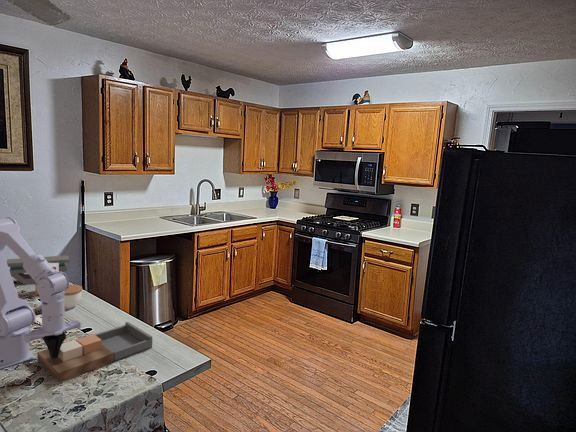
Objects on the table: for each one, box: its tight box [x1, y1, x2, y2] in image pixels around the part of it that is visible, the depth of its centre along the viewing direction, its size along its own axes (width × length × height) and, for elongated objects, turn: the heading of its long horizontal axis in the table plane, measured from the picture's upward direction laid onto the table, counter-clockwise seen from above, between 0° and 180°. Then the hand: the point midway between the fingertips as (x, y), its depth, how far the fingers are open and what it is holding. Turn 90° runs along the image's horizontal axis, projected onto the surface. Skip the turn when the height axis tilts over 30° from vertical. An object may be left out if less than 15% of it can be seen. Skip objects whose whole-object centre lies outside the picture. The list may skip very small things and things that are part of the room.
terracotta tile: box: [75, 333, 102, 354], centre depth 123 cm, size 6×6×3 cm
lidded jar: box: [62, 284, 83, 310], centre depth 160 cm, size 11×11×9 cm
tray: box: [94, 321, 153, 363], centre depth 132 cm, size 13×16×4 cm
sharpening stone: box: [6, 255, 70, 286], centre depth 185 cm, size 25×8×11 cm, turn 123°
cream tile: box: [58, 339, 82, 362], centre depth 118 cm, size 6×6×3 cm
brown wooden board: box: [36, 339, 115, 383], centre depth 120 cm, size 16×16×3 cm
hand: (53, 356), depth 115 cm, fingers closed
